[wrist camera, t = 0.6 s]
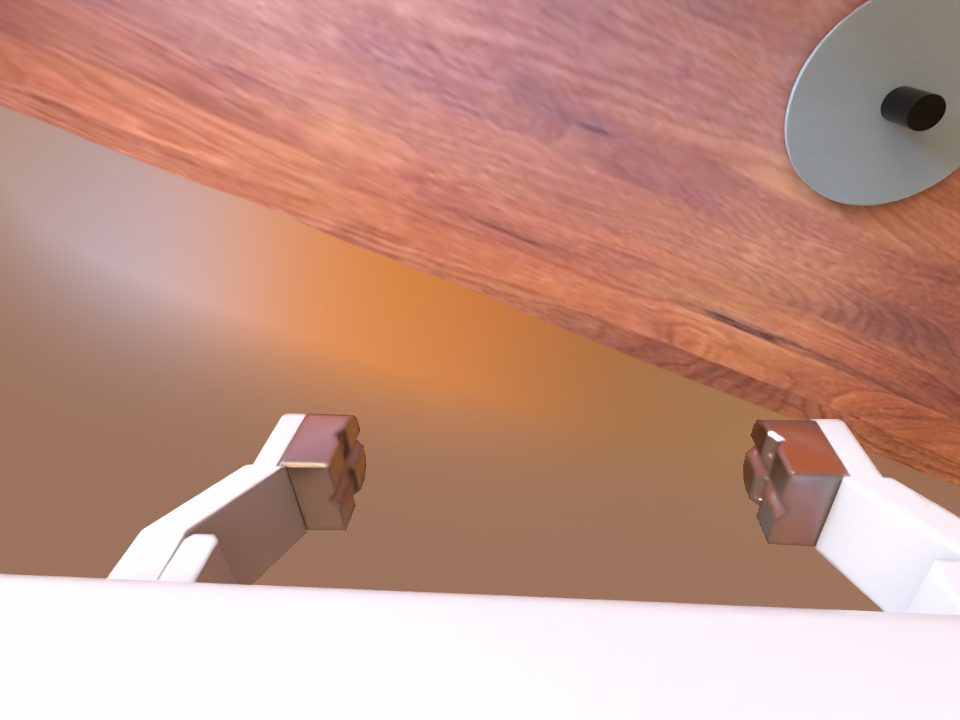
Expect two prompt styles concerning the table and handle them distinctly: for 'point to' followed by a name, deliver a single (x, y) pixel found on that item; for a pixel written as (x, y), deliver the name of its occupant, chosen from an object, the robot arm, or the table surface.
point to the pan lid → (879, 103)
